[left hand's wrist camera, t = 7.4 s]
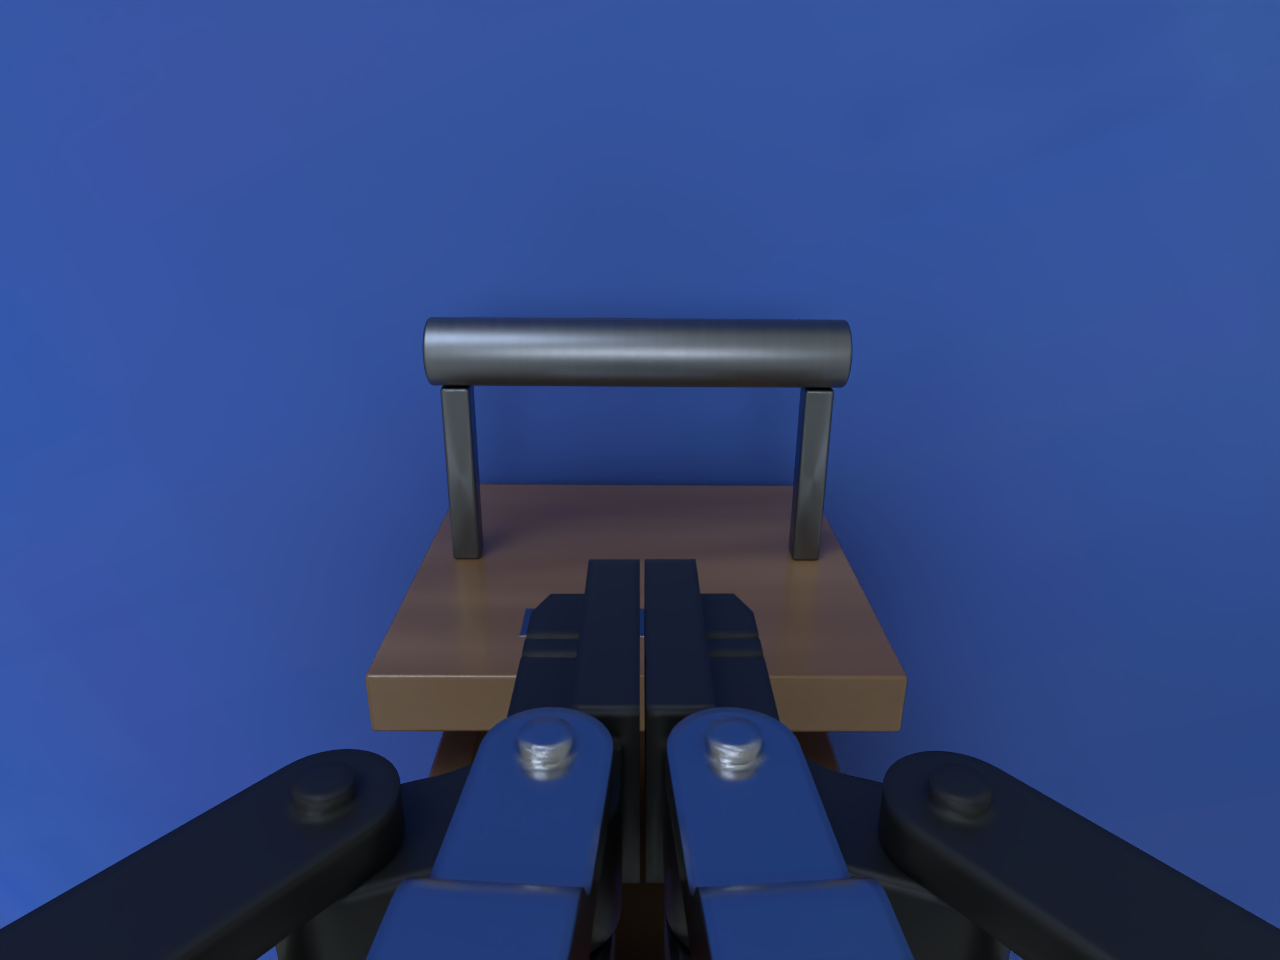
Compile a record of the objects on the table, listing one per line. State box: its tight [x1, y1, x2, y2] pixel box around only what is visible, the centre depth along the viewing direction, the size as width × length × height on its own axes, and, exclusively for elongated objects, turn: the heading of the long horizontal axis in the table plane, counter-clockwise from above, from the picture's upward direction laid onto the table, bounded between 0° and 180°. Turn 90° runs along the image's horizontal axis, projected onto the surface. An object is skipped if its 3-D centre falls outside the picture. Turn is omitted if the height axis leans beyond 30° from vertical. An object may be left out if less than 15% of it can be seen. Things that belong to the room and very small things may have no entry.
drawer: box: [365, 317, 908, 960], centre depth 22 cm, size 22×10×9 cm, turn 0°
